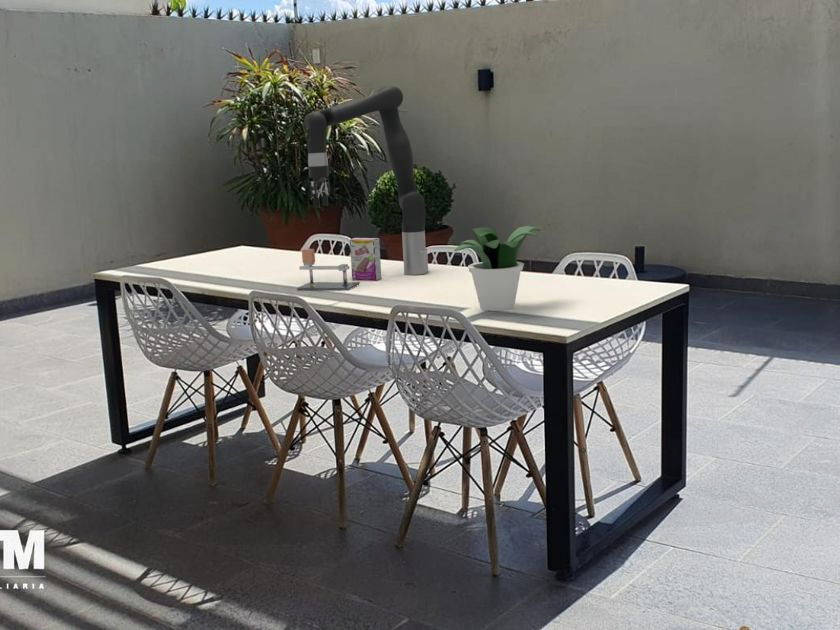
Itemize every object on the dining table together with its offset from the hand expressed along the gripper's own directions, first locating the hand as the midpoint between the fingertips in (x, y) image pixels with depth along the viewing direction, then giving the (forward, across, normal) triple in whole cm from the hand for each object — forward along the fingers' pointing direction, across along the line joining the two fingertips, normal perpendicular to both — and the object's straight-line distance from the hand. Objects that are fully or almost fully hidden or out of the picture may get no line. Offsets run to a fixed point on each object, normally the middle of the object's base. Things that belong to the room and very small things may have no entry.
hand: (321, 206), depth 382 cm
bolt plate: (+30, -10, -5) cm, 32 cm away
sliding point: (+29, -11, +2) cm, 31 cm away
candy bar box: (+30, +8, -14) cm, 34 cm away
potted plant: (+30, -42, -80) cm, 95 cm away
